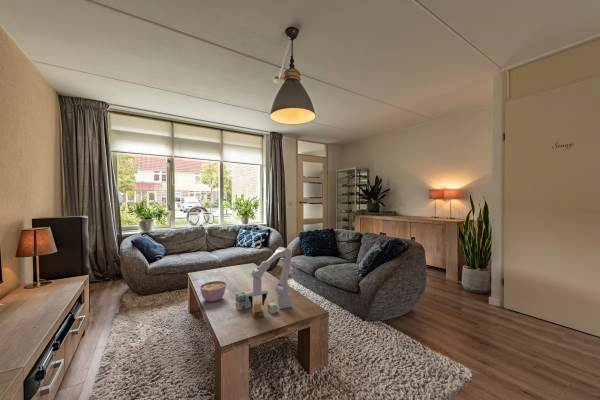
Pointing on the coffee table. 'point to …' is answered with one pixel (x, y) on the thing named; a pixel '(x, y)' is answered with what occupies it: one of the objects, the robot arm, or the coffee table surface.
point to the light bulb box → (242, 300)
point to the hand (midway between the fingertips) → (257, 305)
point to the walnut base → (257, 313)
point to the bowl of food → (213, 290)
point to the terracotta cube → (257, 306)
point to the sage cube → (272, 307)
